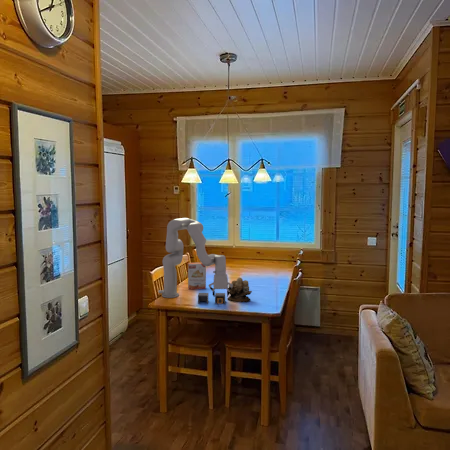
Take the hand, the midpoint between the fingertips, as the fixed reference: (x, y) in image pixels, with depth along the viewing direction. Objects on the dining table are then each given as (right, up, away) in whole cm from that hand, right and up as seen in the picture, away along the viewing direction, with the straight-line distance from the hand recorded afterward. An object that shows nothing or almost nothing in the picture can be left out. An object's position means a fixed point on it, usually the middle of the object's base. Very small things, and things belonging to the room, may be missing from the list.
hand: (220, 296), depth 291 cm
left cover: (-13, -4, +1) cm, 13 cm away
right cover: (-1, -5, +1) cm, 5 cm away
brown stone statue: (+14, -4, +7) cm, 16 cm away
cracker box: (-20, -1, +40) cm, 45 cm away
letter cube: (-1, -5, 0) cm, 5 cm away
